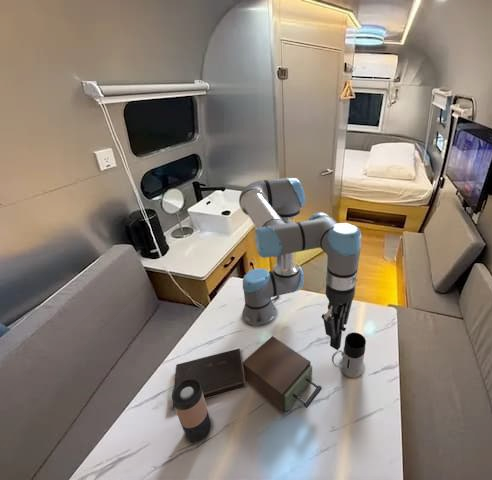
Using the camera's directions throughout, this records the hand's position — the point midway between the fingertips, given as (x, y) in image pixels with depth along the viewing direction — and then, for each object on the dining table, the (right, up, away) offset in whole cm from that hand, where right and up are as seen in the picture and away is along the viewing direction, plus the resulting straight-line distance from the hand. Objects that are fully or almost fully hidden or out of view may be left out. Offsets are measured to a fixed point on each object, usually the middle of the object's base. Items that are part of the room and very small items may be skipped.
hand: (335, 346), depth 81 cm
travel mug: (-42, -28, +5) cm, 51 cm away
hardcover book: (-45, -20, +20) cm, 53 cm away
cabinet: (-20, -20, +20) cm, 35 cm away
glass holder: (+6, -19, +25) cm, 32 cm away
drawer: (-16, -21, +17) cm, 32 cm away
